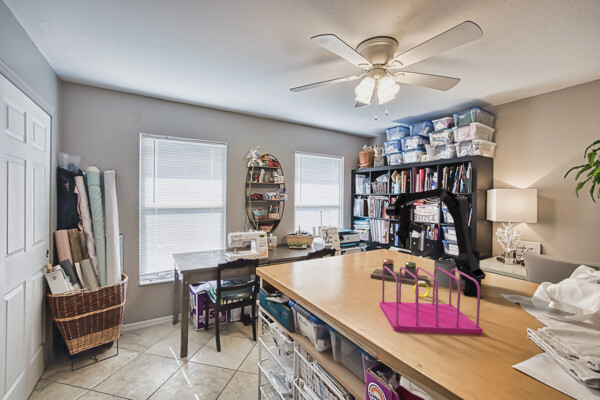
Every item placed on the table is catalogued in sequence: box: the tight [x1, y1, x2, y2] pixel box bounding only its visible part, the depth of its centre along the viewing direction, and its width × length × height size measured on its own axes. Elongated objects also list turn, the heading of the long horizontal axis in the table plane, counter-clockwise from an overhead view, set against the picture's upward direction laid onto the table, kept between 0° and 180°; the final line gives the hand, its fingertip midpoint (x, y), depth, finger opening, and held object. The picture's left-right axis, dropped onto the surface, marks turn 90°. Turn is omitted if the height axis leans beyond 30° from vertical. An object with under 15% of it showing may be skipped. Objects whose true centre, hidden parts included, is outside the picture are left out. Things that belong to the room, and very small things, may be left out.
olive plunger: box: [404, 261, 417, 268], centre depth 124 cm, size 5×5×6 cm
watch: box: [413, 281, 431, 298], centre depth 104 cm, size 6×3×6 cm, turn 94°
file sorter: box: [379, 266, 484, 336], centre depth 85 cm, size 17×25×16 cm
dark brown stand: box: [370, 262, 428, 288], centre depth 126 cm, size 12×24×6 cm, turn 62°
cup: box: [433, 259, 457, 289], centre depth 119 cm, size 8×8×10 cm
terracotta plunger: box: [382, 258, 394, 265], centre depth 129 cm, size 5×5×6 cm
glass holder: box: [458, 249, 481, 286], centre depth 119 cm, size 9×14×15 cm, turn 137°
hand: (404, 248), depth 134 cm, fingers closed
